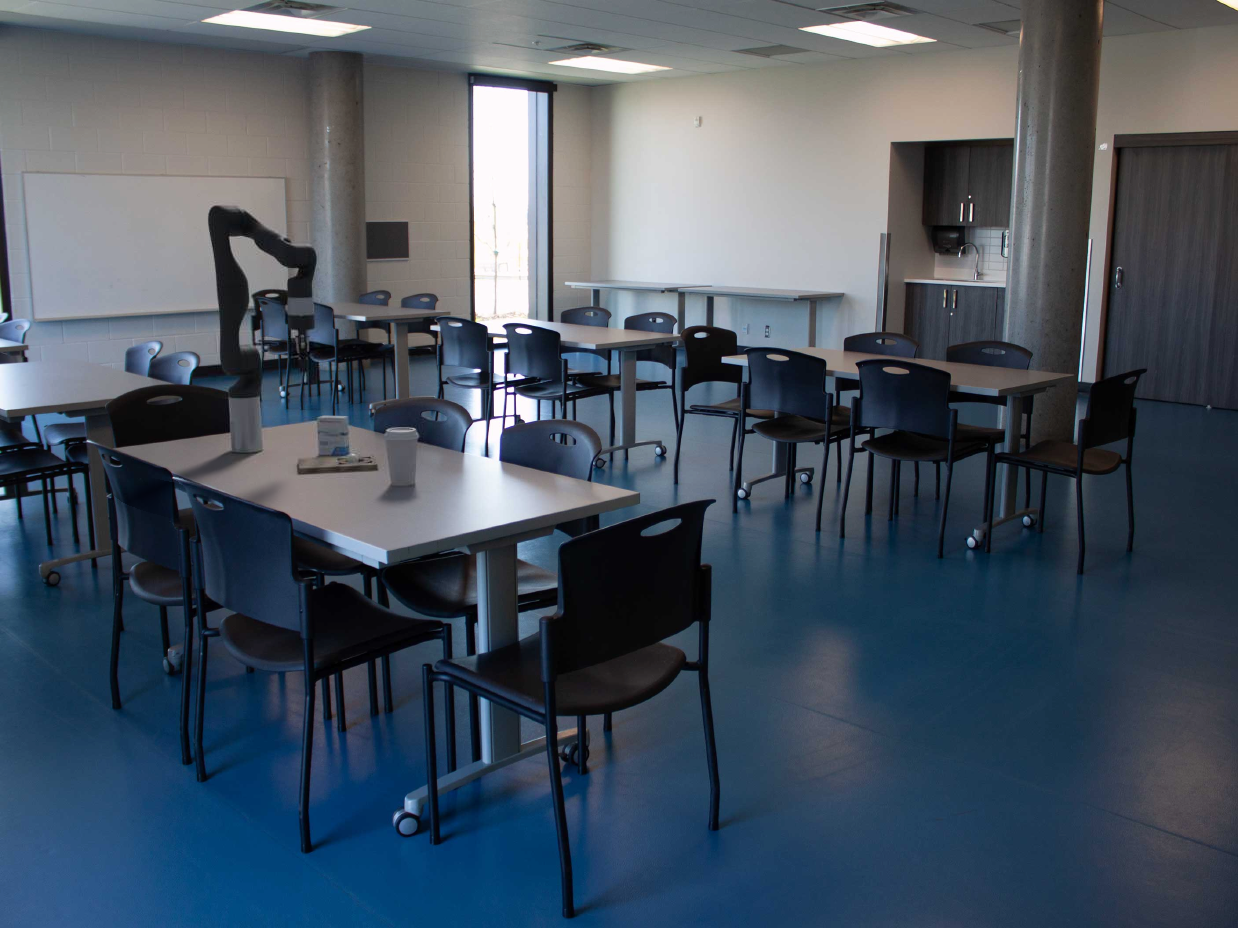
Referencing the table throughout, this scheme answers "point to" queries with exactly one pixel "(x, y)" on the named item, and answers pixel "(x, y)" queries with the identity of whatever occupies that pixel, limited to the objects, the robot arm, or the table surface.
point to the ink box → (333, 435)
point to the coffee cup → (402, 455)
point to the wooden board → (336, 464)
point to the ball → (352, 458)
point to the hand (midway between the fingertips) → (303, 371)
